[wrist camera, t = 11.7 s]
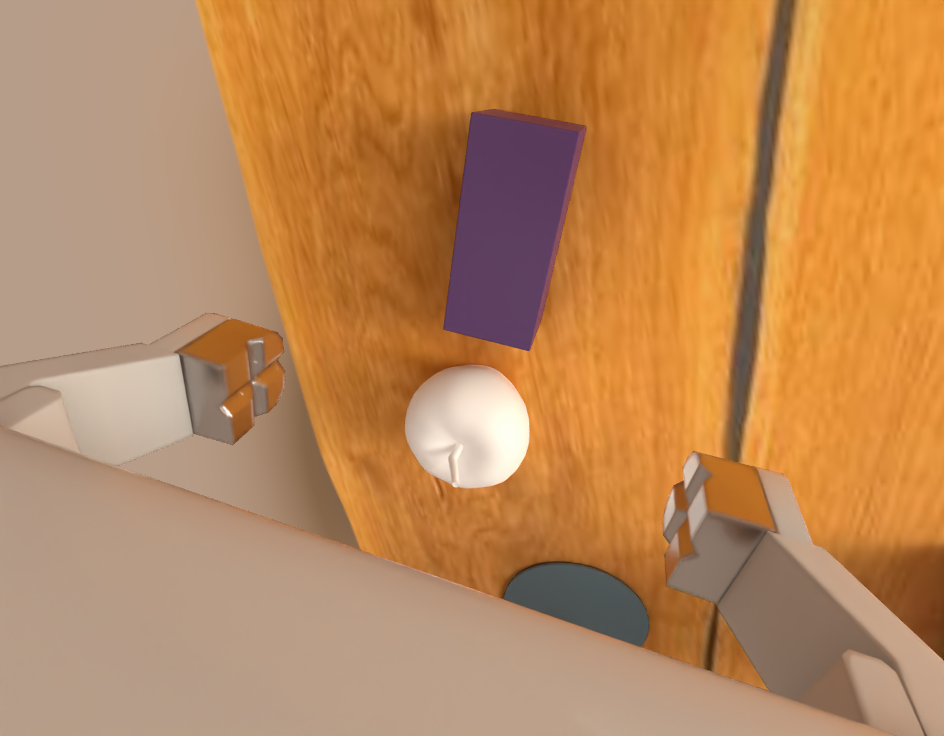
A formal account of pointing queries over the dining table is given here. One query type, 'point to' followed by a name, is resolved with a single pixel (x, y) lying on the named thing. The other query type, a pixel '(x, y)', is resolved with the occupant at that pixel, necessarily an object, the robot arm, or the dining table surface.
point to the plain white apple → (468, 426)
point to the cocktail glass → (582, 599)
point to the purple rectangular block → (510, 224)
